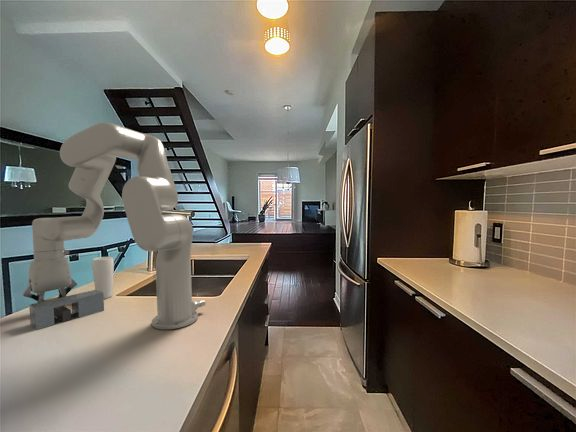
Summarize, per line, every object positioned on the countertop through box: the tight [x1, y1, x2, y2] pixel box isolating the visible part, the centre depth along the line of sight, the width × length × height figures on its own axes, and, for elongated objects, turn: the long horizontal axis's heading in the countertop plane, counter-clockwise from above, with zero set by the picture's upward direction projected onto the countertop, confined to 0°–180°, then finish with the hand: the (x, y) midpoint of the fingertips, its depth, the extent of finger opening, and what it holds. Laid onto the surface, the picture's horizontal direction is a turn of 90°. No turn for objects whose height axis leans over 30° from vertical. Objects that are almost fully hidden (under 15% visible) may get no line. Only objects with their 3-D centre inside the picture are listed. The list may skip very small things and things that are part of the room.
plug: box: [44, 296, 72, 323], centre depth 88 cm, size 4×17×4 cm, turn 55°
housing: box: [28, 289, 105, 331], centre depth 86 cm, size 17×6×6 cm, turn 145°
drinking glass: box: [91, 256, 115, 300], centre depth 105 cm, size 7×7×15 cm
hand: (52, 310), depth 91 cm, fingers closed on plug, 4 cm apart
